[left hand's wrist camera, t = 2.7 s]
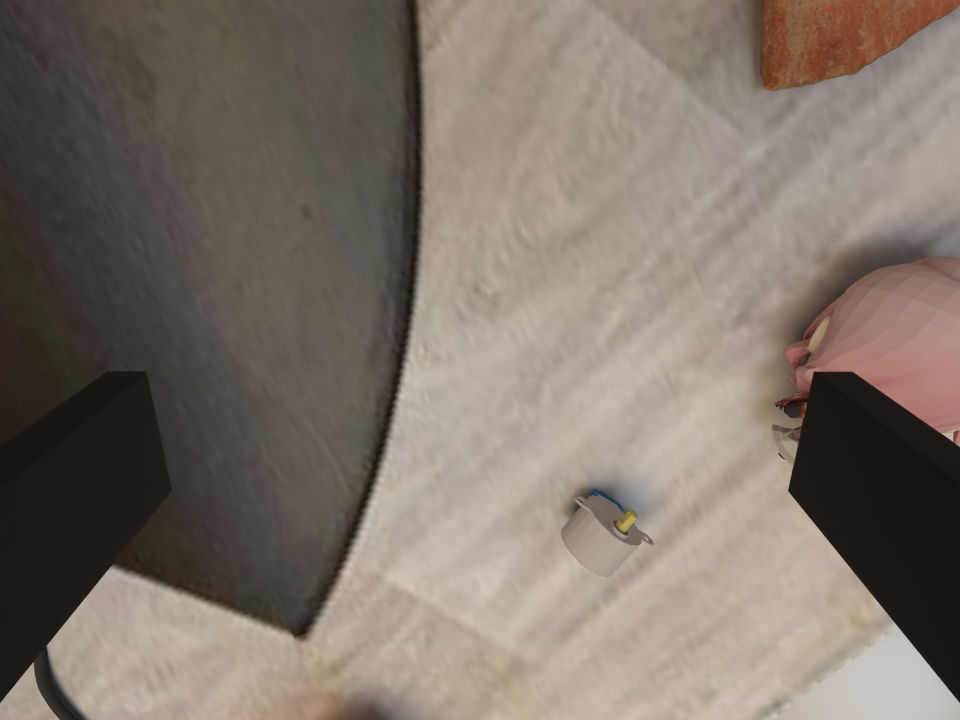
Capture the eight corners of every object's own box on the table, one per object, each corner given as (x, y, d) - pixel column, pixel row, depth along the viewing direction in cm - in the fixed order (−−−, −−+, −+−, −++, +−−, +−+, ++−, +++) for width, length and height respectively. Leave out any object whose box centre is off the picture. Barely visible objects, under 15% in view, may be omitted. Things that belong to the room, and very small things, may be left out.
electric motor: (658, 503, 46) (678, 547, 42) (617, 547, 48) (632, 595, 43) (583, 458, 45) (595, 498, 40) (543, 505, 46) (551, 549, 42)
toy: (868, 492, 44) (1045, 319, 39) (922, 579, 34) (1171, 364, 29) (722, 394, 45) (873, 214, 40) (734, 451, 36) (937, 222, 30)
